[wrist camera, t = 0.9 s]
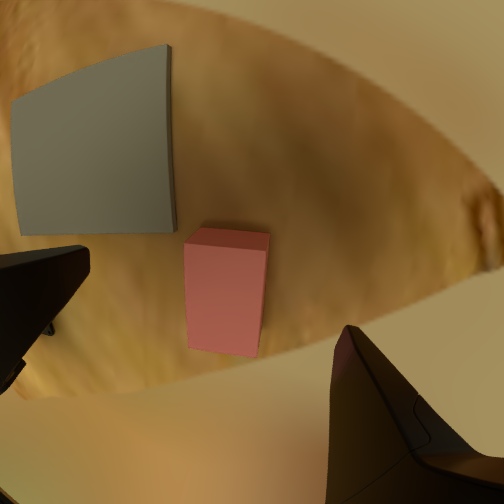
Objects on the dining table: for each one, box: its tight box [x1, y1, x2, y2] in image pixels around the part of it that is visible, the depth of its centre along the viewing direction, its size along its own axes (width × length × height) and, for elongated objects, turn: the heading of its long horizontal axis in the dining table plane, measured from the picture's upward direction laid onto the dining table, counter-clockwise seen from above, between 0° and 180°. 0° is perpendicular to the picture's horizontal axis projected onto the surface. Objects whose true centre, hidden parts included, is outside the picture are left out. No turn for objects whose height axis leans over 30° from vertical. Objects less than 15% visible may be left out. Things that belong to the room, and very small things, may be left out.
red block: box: [184, 227, 270, 358], centre depth 20 cm, size 5×8×4 cm, turn 177°
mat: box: [11, 44, 177, 236], centre depth 20 cm, size 18×14×1 cm
